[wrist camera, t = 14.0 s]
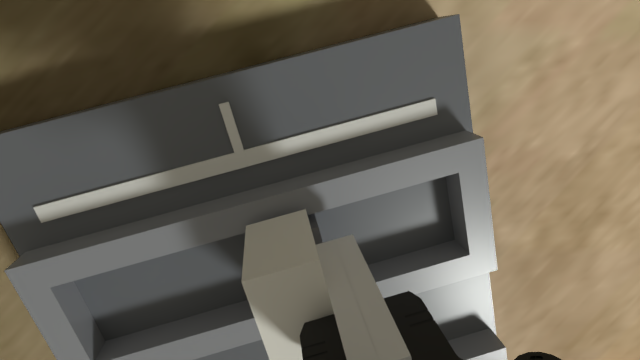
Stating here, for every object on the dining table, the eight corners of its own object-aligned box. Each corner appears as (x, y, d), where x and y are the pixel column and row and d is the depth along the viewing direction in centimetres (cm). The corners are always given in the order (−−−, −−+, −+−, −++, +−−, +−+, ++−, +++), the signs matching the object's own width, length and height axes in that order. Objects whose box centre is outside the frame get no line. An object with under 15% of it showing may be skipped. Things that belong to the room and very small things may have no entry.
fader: (272, 304, 19) (277, 407, 14) (240, 210, 18) (231, 284, 12) (334, 286, 19) (362, 381, 14) (308, 191, 18) (329, 256, 12)
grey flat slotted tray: (196, 522, 26) (187, 591, 23) (-11, 134, 17) (-74, 155, 14) (493, 429, 27) (525, 482, 24) (438, 17, 18) (477, 11, 15)
